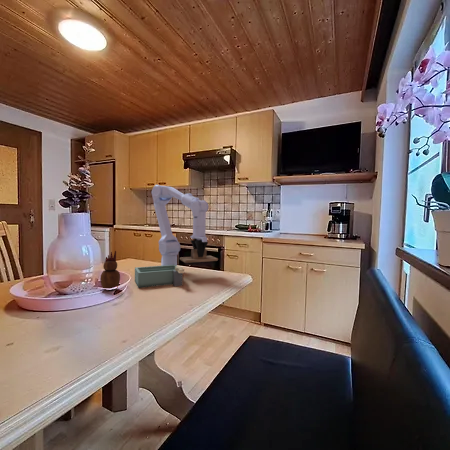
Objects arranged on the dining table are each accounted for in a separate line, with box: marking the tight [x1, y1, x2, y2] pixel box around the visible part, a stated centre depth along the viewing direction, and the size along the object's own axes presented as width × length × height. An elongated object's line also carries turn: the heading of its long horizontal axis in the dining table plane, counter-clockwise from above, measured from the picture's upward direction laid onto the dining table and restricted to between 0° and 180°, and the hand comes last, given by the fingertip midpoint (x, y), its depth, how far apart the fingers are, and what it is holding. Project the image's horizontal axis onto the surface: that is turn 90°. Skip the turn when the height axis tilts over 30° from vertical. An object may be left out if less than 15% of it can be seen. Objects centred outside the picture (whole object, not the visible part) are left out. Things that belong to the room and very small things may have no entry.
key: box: [175, 265, 185, 274], centre depth 105 cm, size 6×2×2 cm, turn 26°
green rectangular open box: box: [134, 264, 183, 289], centre depth 110 cm, size 14×18×6 cm
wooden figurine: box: [99, 250, 121, 289], centre depth 99 cm, size 7×6×15 cm
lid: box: [179, 248, 219, 264], centre depth 119 cm, size 8×15×5 cm, turn 116°
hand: (198, 256), depth 119 cm, fingers closed on lid, 4 cm apart
